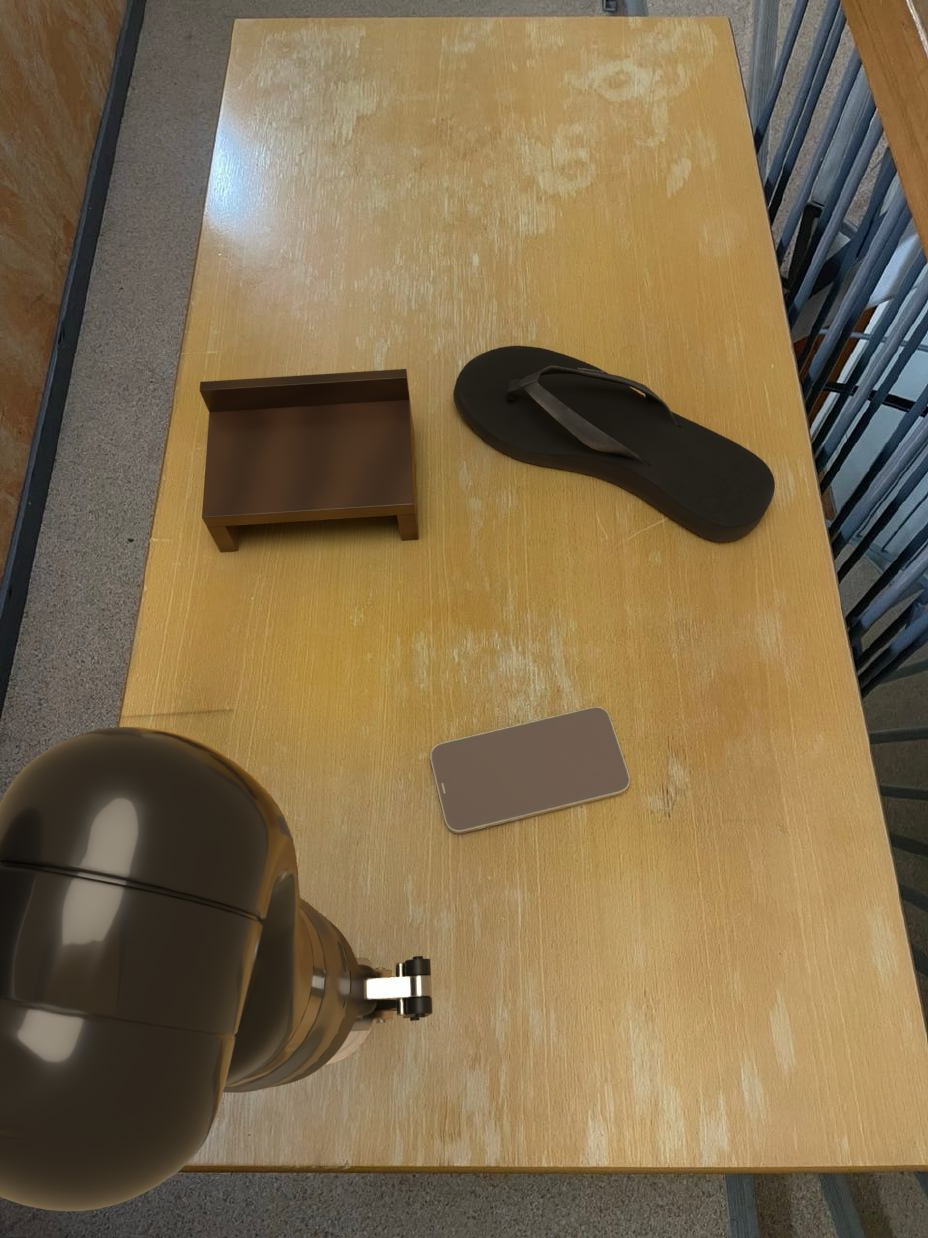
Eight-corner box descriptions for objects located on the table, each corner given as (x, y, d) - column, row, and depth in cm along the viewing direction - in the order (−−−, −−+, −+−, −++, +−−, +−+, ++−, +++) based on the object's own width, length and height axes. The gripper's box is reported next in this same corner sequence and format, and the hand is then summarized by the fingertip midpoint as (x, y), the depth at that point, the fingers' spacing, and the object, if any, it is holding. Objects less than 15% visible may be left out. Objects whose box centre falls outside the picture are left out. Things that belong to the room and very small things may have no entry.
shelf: (220, 552, 83) (190, 498, 75) (226, 442, 88) (199, 381, 80) (418, 539, 83) (411, 484, 75) (413, 431, 88) (406, 368, 80)
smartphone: (634, 789, 72) (448, 835, 71) (632, 792, 73) (448, 838, 72) (605, 703, 75) (427, 745, 74) (604, 706, 76) (427, 748, 75)
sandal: (747, 556, 82) (768, 517, 75) (432, 439, 88) (428, 394, 82) (788, 449, 86) (811, 404, 80) (487, 344, 92) (487, 295, 86)
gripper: (67, 1102, 36) (189, 1085, 51) (437, 1078, 36) (449, 1068, 51) (89, 902, 39) (198, 942, 54) (428, 881, 39) (442, 926, 54)
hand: (319, 1003), depth 52 cm, fingers closed on smoothie, 6 cm apart
